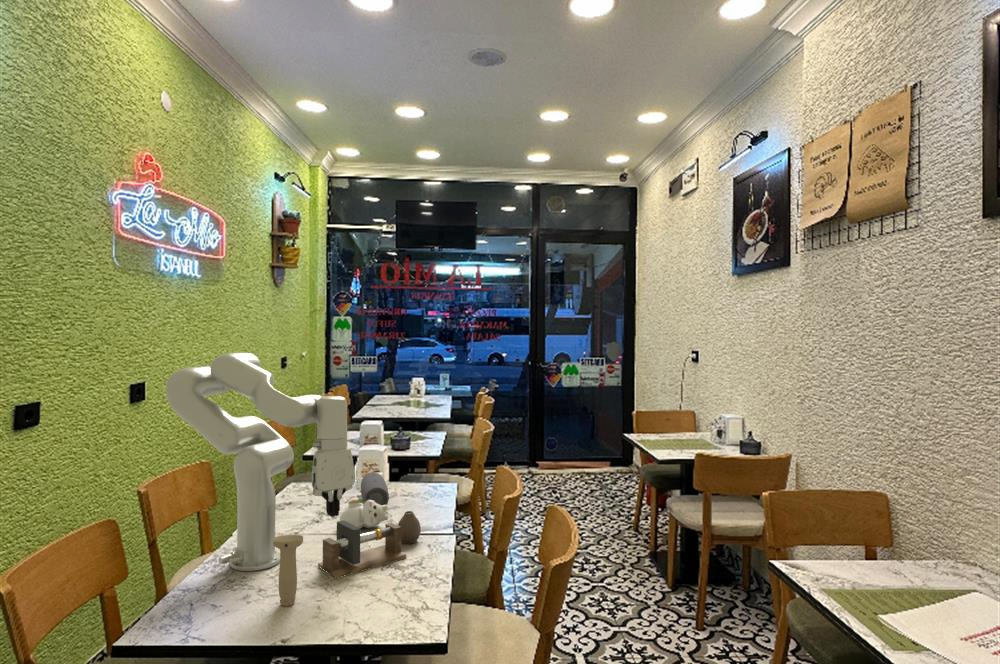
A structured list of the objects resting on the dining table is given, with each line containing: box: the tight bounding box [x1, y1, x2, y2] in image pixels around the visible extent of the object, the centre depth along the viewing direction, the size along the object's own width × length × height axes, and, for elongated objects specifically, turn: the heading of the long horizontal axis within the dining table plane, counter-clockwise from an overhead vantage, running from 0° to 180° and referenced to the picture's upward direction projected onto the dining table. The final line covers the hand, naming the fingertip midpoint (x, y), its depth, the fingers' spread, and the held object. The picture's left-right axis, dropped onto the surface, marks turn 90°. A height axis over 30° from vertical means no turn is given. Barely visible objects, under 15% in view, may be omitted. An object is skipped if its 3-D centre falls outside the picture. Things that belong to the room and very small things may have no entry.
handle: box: [273, 534, 304, 608], centre depth 138 cm, size 5×6×15 cm
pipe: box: [334, 527, 393, 549], centre depth 163 cm, size 18×3×3 cm, turn 133°
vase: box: [397, 510, 421, 545], centre depth 180 cm, size 7×7×9 cm
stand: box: [317, 522, 407, 579], centre depth 163 cm, size 21×10×8 cm, turn 133°
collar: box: [336, 520, 361, 565], centre depth 160 cm, size 2×9×9 cm, turn 43°
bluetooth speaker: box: [360, 471, 390, 506], centre depth 216 cm, size 23×9×10 cm, turn 15°
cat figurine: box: [339, 498, 389, 529], centre depth 192 cm, size 10×8×15 cm
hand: (333, 515), depth 157 cm, fingers closed
